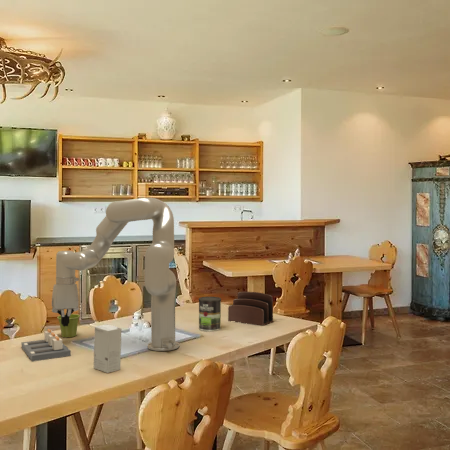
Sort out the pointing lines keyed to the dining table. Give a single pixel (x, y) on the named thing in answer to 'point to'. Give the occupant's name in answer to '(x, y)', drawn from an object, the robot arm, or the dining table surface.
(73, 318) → the plant pot
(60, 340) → the tab
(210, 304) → the coffee can
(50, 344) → the tab
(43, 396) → the dining table surface
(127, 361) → the dining table surface
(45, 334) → the tab
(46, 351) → the switch bank
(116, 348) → the skincare box
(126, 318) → the dining table surface
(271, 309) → the letter holder
